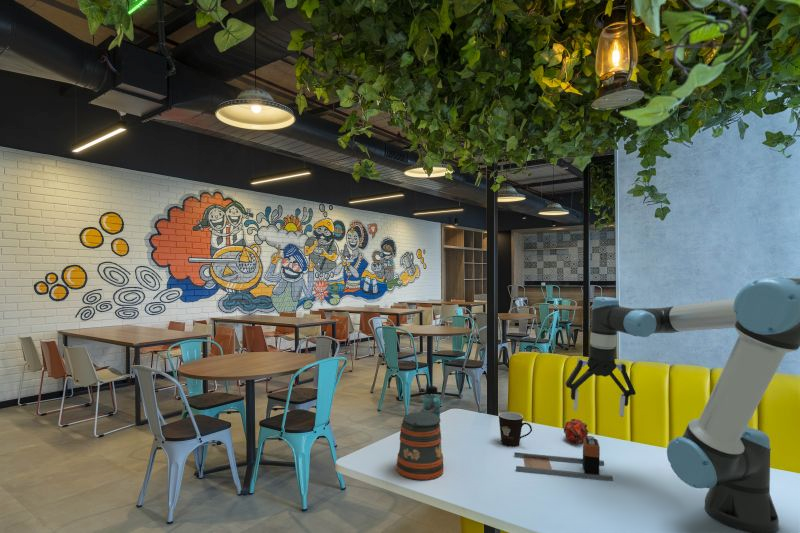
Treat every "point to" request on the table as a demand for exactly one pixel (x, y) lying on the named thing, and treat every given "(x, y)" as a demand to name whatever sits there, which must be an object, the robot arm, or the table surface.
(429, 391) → the beverage bottle
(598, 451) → the battery
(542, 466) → the rail
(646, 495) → the table surface
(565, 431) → the dragon fruit
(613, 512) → the table surface
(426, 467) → the beer stein
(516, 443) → the coffee mug
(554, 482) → the table surface
